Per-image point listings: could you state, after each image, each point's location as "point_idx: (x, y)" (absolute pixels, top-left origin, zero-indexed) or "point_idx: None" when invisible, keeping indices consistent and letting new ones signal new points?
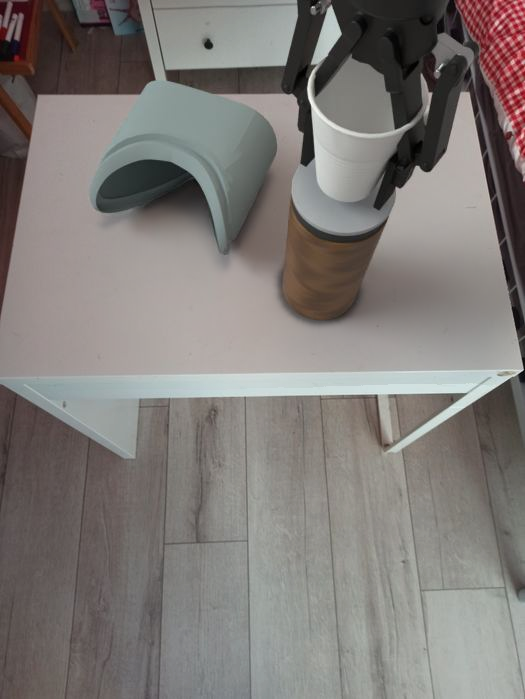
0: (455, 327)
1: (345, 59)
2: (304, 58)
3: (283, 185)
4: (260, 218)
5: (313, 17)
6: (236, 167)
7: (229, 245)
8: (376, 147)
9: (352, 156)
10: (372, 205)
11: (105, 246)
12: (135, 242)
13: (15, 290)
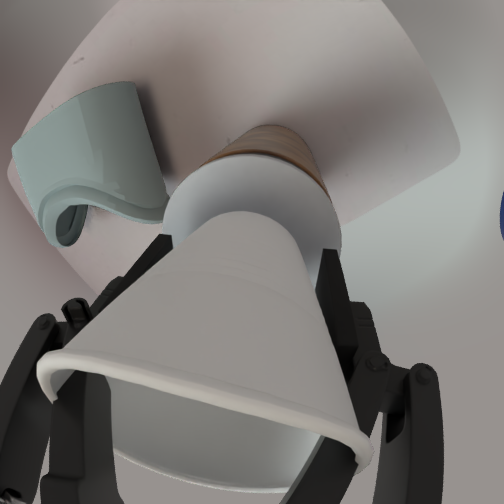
0: (413, 140)
1: (108, 489)
2: (46, 414)
3: (163, 84)
4: (169, 133)
5: (27, 496)
6: (109, 168)
7: None
8: (290, 455)
9: (256, 432)
10: (308, 253)
11: (101, 240)
12: (111, 225)
13: (97, 293)
